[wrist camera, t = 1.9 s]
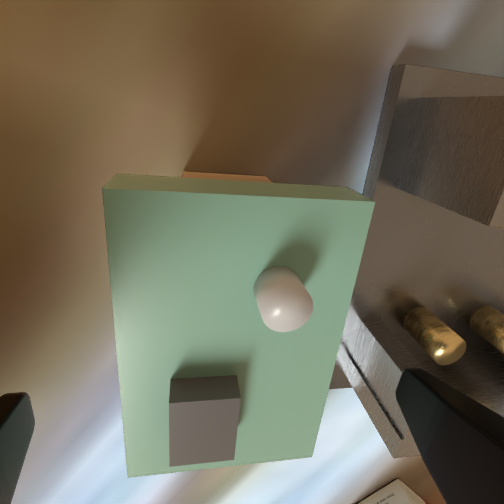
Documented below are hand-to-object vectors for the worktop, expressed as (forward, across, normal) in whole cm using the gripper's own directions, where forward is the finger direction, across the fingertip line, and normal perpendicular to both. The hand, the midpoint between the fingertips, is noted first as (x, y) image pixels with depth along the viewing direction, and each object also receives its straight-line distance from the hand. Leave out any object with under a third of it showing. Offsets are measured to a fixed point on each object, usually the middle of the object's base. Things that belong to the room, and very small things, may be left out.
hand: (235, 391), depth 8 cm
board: (+3, 0, 0) cm, 3 cm away
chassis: (+6, -11, -1) cm, 13 cm away
